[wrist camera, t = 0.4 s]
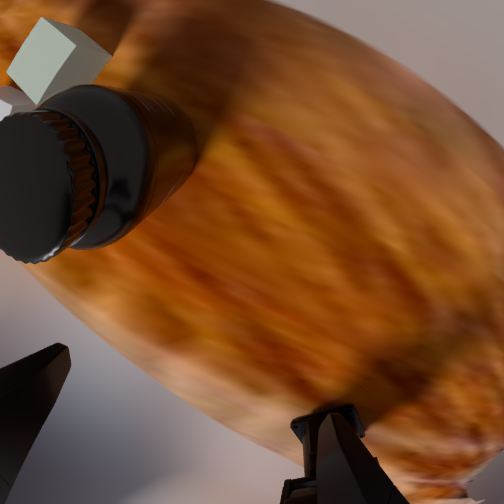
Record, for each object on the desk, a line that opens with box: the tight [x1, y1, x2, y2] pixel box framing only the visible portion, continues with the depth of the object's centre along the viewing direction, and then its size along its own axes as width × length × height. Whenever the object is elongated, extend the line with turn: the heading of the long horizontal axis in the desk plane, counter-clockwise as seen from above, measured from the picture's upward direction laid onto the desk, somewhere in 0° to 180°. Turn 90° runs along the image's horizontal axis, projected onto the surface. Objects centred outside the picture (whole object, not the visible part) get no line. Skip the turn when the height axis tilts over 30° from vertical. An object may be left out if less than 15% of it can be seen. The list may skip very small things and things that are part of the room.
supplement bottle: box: [0, 84, 197, 264], centre depth 13 cm, size 7×7×12 cm
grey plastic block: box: [0, 86, 39, 121], centre depth 15 cm, size 5×4×4 cm
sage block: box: [6, 17, 113, 105], centre depth 14 cm, size 4×4×4 cm
